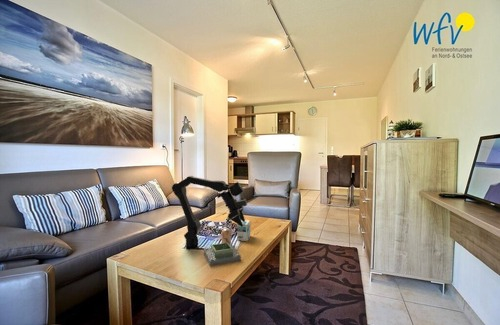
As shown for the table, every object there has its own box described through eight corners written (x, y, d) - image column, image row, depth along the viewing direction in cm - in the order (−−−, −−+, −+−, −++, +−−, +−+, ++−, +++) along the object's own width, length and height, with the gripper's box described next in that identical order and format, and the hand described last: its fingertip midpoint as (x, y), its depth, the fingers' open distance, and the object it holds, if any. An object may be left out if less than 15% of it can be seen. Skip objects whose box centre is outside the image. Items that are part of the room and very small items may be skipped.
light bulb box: (247, 241, 148) (247, 224, 148) (236, 240, 150) (236, 223, 149) (250, 235, 159) (250, 219, 158) (240, 235, 160) (240, 219, 160)
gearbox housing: (210, 266, 115) (210, 255, 115) (203, 253, 130) (203, 243, 130) (240, 260, 121) (240, 250, 121) (231, 248, 136) (231, 239, 136)
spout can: (223, 247, 139) (223, 231, 138) (220, 243, 144) (220, 228, 144) (234, 245, 141) (234, 229, 141) (232, 242, 147) (232, 227, 146)
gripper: (238, 196, 126) (253, 221, 125) (243, 191, 144) (256, 212, 144) (221, 206, 127) (236, 231, 127) (228, 200, 146) (241, 221, 145)
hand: (243, 223), depth 136 cm, fingers open, 9 cm apart
